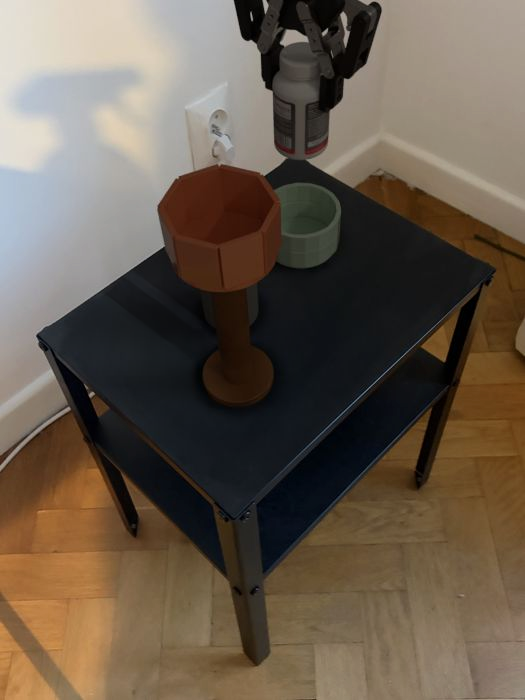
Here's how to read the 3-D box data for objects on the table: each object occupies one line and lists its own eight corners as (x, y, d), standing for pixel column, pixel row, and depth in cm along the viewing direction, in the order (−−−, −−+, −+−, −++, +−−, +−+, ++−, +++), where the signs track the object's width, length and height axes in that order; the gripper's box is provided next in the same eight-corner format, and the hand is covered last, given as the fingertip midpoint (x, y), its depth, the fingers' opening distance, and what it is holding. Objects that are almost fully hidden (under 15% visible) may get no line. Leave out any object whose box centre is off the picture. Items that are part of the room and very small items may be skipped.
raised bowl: (192, 307, 55) (184, 261, 51) (155, 233, 59) (145, 186, 55) (296, 270, 56) (296, 223, 52) (252, 201, 61) (249, 153, 57)
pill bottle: (325, 126, 74) (330, 35, 66) (330, 161, 70) (335, 69, 63) (272, 128, 74) (270, 38, 66) (274, 163, 70) (272, 72, 63)
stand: (219, 418, 70) (198, 296, 55) (193, 364, 74) (168, 236, 59) (285, 391, 71) (282, 266, 57) (256, 340, 75) (247, 210, 61)
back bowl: (282, 279, 80) (281, 247, 76) (251, 229, 85) (248, 196, 81) (352, 254, 82) (355, 222, 78) (317, 206, 86) (318, 173, 82)
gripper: (197, -106, 55) (216, 91, 69) (360, -58, 50) (345, 145, 63) (256, -140, 58) (262, 54, 72) (414, -99, 53) (389, 102, 67)
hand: (301, 96), depth 68 cm, fingers closed on pill bottle, 5 cm apart
